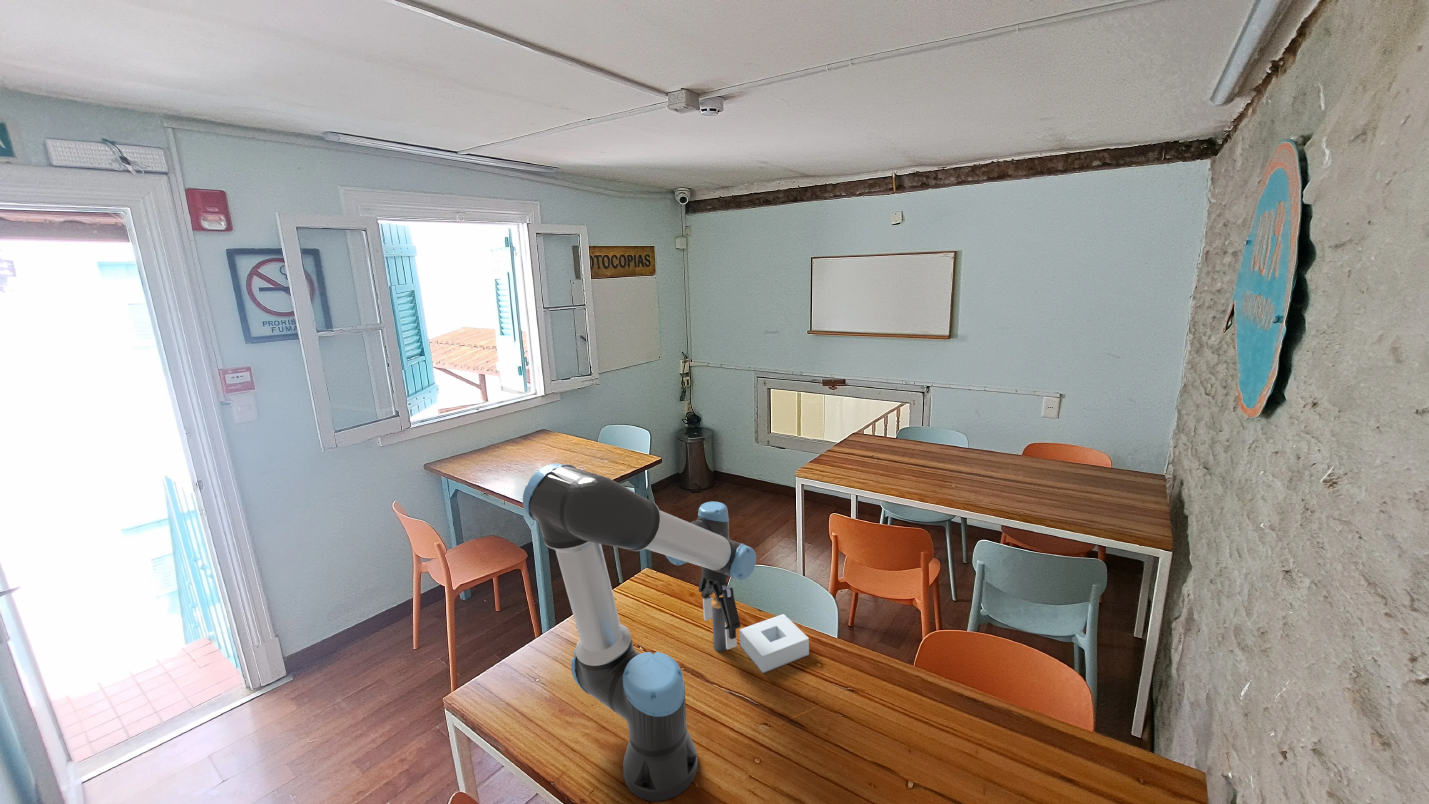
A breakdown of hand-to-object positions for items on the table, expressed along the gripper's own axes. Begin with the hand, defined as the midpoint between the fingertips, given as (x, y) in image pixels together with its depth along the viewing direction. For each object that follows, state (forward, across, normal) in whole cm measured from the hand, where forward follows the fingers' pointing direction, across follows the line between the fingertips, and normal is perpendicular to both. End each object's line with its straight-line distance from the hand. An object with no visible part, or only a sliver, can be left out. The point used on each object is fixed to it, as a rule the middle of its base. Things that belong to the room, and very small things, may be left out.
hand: (719, 632), depth 146 cm
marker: (+4, 0, 0) cm, 5 cm away
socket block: (+5, -8, -12) cm, 15 cm away
